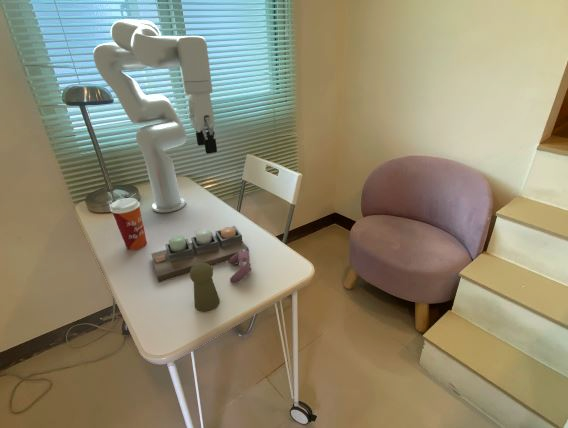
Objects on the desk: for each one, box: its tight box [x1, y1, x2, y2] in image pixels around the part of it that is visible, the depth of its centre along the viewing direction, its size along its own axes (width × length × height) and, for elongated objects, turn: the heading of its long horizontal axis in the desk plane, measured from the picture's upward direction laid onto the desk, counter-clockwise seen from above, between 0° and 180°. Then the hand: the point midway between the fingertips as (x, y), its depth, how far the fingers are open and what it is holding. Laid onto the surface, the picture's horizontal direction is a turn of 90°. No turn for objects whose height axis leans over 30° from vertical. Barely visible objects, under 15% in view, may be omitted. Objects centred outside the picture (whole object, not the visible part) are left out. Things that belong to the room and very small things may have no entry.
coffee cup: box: [109, 197, 148, 251], centre depth 97 cm, size 8×8×15 cm
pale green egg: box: [168, 235, 187, 253], centre depth 90 cm, size 4×4×3 cm
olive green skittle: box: [189, 263, 221, 313], centre depth 74 cm, size 6×6×11 cm
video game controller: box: [228, 249, 252, 284], centre depth 86 cm, size 10×5×7 cm, turn 10°
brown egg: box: [220, 226, 236, 239], centre depth 97 cm, size 4×4×3 cm
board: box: [150, 225, 250, 284], centre depth 93 cm, size 12×26×4 cm, turn 117°
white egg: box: [194, 228, 212, 245], centre depth 93 cm, size 4×4×3 cm
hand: (207, 148), depth 95 cm, fingers open, 9 cm apart
